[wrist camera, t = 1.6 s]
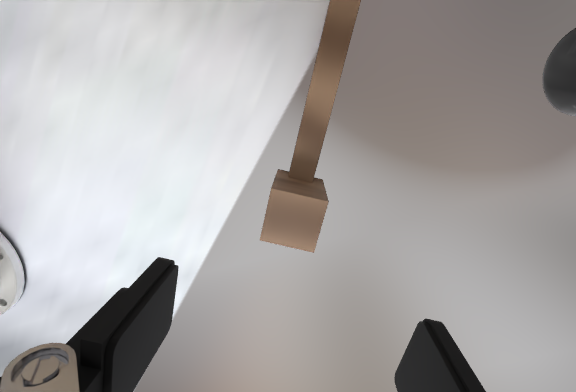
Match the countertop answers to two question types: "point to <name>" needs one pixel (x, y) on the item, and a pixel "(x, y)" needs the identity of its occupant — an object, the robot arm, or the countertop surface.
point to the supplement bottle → (562, 75)
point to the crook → (311, 141)
